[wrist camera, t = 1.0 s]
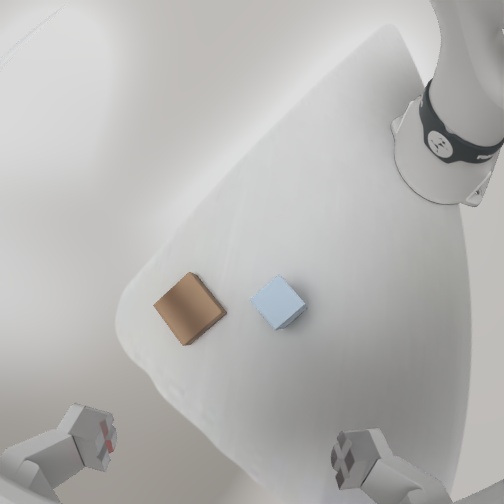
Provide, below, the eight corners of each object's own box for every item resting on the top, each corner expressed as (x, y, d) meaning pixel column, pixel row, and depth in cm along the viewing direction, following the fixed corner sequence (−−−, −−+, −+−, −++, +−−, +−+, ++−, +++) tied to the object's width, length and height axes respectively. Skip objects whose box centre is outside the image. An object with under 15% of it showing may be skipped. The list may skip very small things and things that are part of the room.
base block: (197, 275, 44) (189, 271, 42) (227, 312, 42) (221, 312, 40) (162, 306, 44) (153, 305, 42) (191, 344, 42) (182, 345, 40)
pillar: (287, 285, 41) (279, 273, 32) (307, 308, 40) (305, 303, 31) (264, 305, 41) (249, 299, 32) (283, 328, 40) (274, 329, 31)
